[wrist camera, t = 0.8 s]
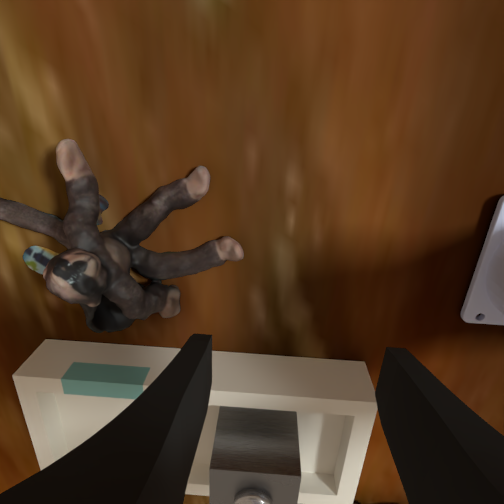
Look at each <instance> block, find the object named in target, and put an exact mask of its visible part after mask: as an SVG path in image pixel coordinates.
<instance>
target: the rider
mask: <svg viewBox="0 0 504 504" xmlns="http://www.w3.org/2000/svg"><path fill="white" fill-rule="evenodd" d="M300 483H301V463H300V450H299V437H298V423H297V412H295V411H282V410H269V409H256V408H242V407H229V406H220V408H219V414H218V420H217V426H216V432H215V438H214V444H213V450H212V456H211V462H210V468H209V499H210V504H297V502H298V496H299V489H300Z"/></svg>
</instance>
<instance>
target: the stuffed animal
mask: <svg viewBox="0 0 504 504" xmlns="http://www.w3.org/2000/svg"><path fill="white" fill-rule="evenodd" d="M56 162H57V166H58V168H59V170H60V172H61V173H62V175H63V177H64V179H65V182H66V191H67V196H68V200H69V209H68V212H67V214H66V216H65V218H64V220H61V219H59V218H58V217H56V216H54V215H52V214H47V213H44V212H41V211H39V210H36V209H34V208H31V207H29V206H27V205H24V204H22V203H19V202H15V201H11V200H6V199H3V198H0V220H4V221H7V222H9V223H11V224H14V225H17V226H20V227H23V228H26V229H30V230H33V231H36V232H40V233H44V234H46V235H49V236H52V237H53V238H55V239H56V240H57V241H58V242H59V243H61V244H63V245H64V246H66V247H67V249H68V250H66V251H64V252H62V253H60V254H58V253H56V252H54V251H51V250H49V249H47V248H44V247H40V246H31V247H29V248H28V249H27V250H25V252H24V254H23V259H24V261H25V263H26V264H27V266H28V267H29V268H30V269H32V270H34V271H36V272H38V273H40V274H43V278H44V279H45V280H46V287H47V289H48V290H49V291H50V292H51V293H52V294H54V295H56V296H58V297H59V298H61V299H63V300H64V301H67V302H68V303H70V304H73V303H79V304H80V305H81V307H82V308H83V310H84V313H85V316H86V324H87V326H88V327H89V328H90V329H91V330H92V331H94V332H97V333H101V332H103V331H107V332H114V331H121V330H123V329H125V328H128V327H130V326H131V325H132V323H133V322H134V321H135V319H141V320H145V319H147V318H148V316H150V315H151V314H153V313H157V312H159V314H160V315H161V316H162V317H163V318H170V317H173V316H175V315H177V314H178V313H179V312H180V300H179V299H180V290H179V289H178V287H177V286H176V285H170V286H167V285H162V284H161V283H162V282H161V280H165V279H172V278H177V277H182V276H185V275H192V274H197V273H198V272H201V271H205V270H208V269H210V268H212V267H216V266H220V265H223V264H224V263H225V262H226V260H230V261H239V260H242V259H243V257H244V252H243V250H242V247H241V245H240V244H239V243H238V242H237V241H235V240H234V239H232V238H231V237H228V236H225V237H223V238H221V239H219V240H211V241H208V242H206V243H205V244H203V245H201V246H199V247H197V248H195V249H192V250H188V251H182V252H164V253H156V252H153V251H150V250H147V249H145V248H143V247H141V246H139V243H140V242H141V241H143V240H145V239H147V238H148V237H149V236H150V235H151V233H152V232H153V231H154V230H155V229H156V228H157V227H158V225H159V224H160V223H161V222H162V221H163V220H164V219H165V218H166V217H167V216H168V215H169V213H171V212H172V211H173V210H176V209H184V208H187V207H189V206H191V205H193V204H194V203H196V202H197V201H199V200H200V199H201V198H202V197H203V196H204V195H205V194H206V193H207V191H208V189H209V183H210V174H209V172H208V170H207V168H205V167H204V166H199V167H197V168H196V169H195V170H194V171H193V172H192V173H191V174H190V175H189V177H187V178H183V179H179V180H176V181H174V182H172V183H171V184H169V185H166V186H162V187H160V188H158V189H157V190H156V192H155V193H154V194H153V195H152V196H151V197H150V198H149V199H148V200H147V201H146V202H144V203H142V204H141V205H139V206H138V207H137V208H136V209H134V210H133V211H132V212H131V213H130V214H129V215H128V216H126V217H125V218H124V219H123V220H122V221H120V222H119V223H118V224H117V225H116V226H115V227H114V228H113V229H112V230H105V231H102V232H101V233H99V230H98V228H97V225H99V224H102V222H103V221H102V218H101V214H102V212H103V211H104V210H106V209H107V208H108V206H109V204H108V201H107V200H106V199H105V198H104V197H103V196H101V195H99V190H98V183H97V180H96V178H95V176H94V175H93V173H92V171H91V169H90V167H89V165H88V163H87V161H86V160H85V158H84V155H83V153H82V152H81V150H80V148H79V147H78V145H77V143H76V142H75V141H74V140H71V139H64V140H62V141H60V142H59V143H58V145H57V147H56ZM131 267H133V268H134V269H136V270H137V271H138V272H139V273H140V274H141V275H142V276H144V277H146V278H149V279H152V282H151V283H150V284H149V285H147V286H146V287H145V286H143V285H141V284H139V283H137V282H136V281H135V280H134V279H133V278H132V277H131V276H130V268H131Z"/></svg>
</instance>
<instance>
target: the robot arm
mask: <svg viewBox="0 0 504 504" xmlns="http://www.w3.org/2000/svg"><path fill="white" fill-rule="evenodd" d="M480 313H481V315H480V316H478V317H476V316H477V315H478V314H480ZM460 316H461V318H462V319H463V320H464V321H465V322H467V323H478V324H493V325H504V196H502V197H501V198H500V200H499V201H498V204H497V207H496V210H495V213H494V216H493V219H492V222H491V225H490V228H489V230H488V233H487V236H486V239H485V242H484V245H483V248H482V251H481V254H480V257H479V260H478V263H477V266H476V269H475V272H474V275H473V278H472V281H471V284H470V287H469V290H468V292H467V295H466V298H465V301H464V304H463V307H462V310H461V314H460ZM211 386H212V335H205V334H193V335H192V336H191V337H190V338H189V339H188V341H187V342H186V343H185V345H184V346H183V347H182V349H181V350H180V351H179V352H178V354H177V355H176V356H175V357H174V359H173V360H172V361H171V362H170V363H169V364H168V366H167V367H166V368H165V369H164V370H163V371H162V372H161V374H160V375H159V376H158V377H157V378H156V379H155V380H154V381H153V382H152V383H151V384H150V385H149V386H148V387H147V388H146V389H145V390H144V391H143V392H142V393H141V394H140V395H139V396H138V397H137V398H136V399H135V400H134V401H133V402H132V403H131V404H130V405H129V406H128V407H127V408H125V409H124V410H123V411H122V412H121V413H120V414H119V415H117V416H116V417H115V418H114V419H113V420H112V421H110V422H109V423H108V424H106V425H105V426H104V427H103V428H101V429H100V430H99V431H98V432H96V433H95V434H94V435H93V436H91V437H90V438H89V439H87V440H86V441H84V442H83V443H82V444H80V445H79V446H77V447H76V448H74V449H73V450H72V451H70V452H69V453H67V454H66V455H64V456H63V457H61V458H60V459H58V460H57V461H55V462H54V463H52V464H51V465H49V466H48V467H46V468H44V469H43V470H41V471H39V472H38V473H36V474H34V475H33V476H31V477H29V478H27V479H26V480H24V481H22V482H20V483H19V484H17V485H15V486H13V487H12V488H10V489H8V490H6V491H5V492H3V493H1V494H0V504H183V501H184V496H185V491H186V487H187V483H188V479H189V475H190V472H191V468H192V464H193V461H194V457H195V454H196V450H197V447H198V443H199V439H200V436H201V432H202V429H203V425H204V421H205V418H206V414H207V410H208V404H209V398H210V392H211ZM375 397H376V402H377V407H378V412H379V416H380V420H381V425H382V428H383V431H384V434H385V436H386V439H387V442H388V445H389V448H390V451H391V454H392V456H393V459H394V462H395V465H396V468H397V470H398V473H399V476H400V479H401V482H402V485H403V487H404V490H405V493H406V496H407V499H408V502H409V504H504V436H503V435H502V434H500V433H499V432H498V431H497V430H495V429H494V428H493V427H492V426H490V425H489V424H488V423H487V422H485V421H484V420H483V419H482V418H481V417H479V416H478V415H477V414H476V413H475V412H474V411H472V410H471V409H470V408H469V407H468V406H467V405H465V404H464V403H463V402H462V401H461V400H460V399H459V398H458V397H456V396H455V395H454V394H453V393H452V392H451V391H450V390H449V389H448V388H447V387H446V386H444V385H443V384H442V383H441V382H440V381H439V380H438V379H437V378H436V377H435V376H434V375H433V374H432V373H431V372H430V371H429V370H428V369H427V368H426V367H425V366H423V365H422V364H421V363H420V362H419V361H418V360H417V359H416V358H415V357H414V356H413V355H412V354H411V353H410V352H409V351H408V350H406V349H405V348H392V347H386V351H385V355H384V359H383V363H382V367H381V371H380V375H379V379H378V383H377V387H376V391H375Z"/></svg>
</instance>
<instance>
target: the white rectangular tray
mask: <svg viewBox="0 0 504 504" xmlns="http://www.w3.org/2000/svg"><path fill="white" fill-rule="evenodd" d="M180 350H181V349H180V348H166V347H152V346H138V345H124V344H110V343H96V342H81V341H67V340H53V339H45V340H44V341H43V343H42V344H41V345H40V346H39V347H38V348H37V349H36V350H35V351H34V352H33V353H32V354H31V355H30V357H29V358H28V359H27V360H26V361H25V362H24V363H23V364H22V365H21V366H20V367H19V368H18V370H17V371H16V372H15V373H14V374H13V375H12V377H13V380H14V384H15V387H16V390H17V394H18V397H19V400H20V403H21V407H22V410H23V413H24V417H25V420H26V423H27V427H28V430H29V433H30V436H31V440H32V443H33V446H34V450H35V453H36V456H37V460H38V463H39V466H40V469H41V470H43V469H44V468H46V467H48V466H49V465H51V464H52V463H54V462H55V461H57V460H58V459H60V458H61V457H63V456H64V455H66V454H67V453H69V452H70V451H72V450H73V449H74V448H76V447H77V446H79V445H80V444H82V443H83V442H84V441H86V440H87V439H89V438H90V437H91V436H93V435H94V434H95V433H96V432H98V431H99V430H100V429H101V428H103V427H104V426H105V425H106V424H108V423H109V422H110V421H112V420H113V419H114V418H115V417H116V416H117V415H119V414H120V413H121V412H122V411H123V410H124V409H125V408H127V407H128V406H129V405H130V404H131V403H132V402H133V401H134V400H135V399H136V398H137V397H138V396H139V395H140V394H141V393H142V392H143V391H144V390H145V389H146V388H147V387H148V386H149V385H150V384H151V383H152V382H153V381H154V380H155V379H156V378H157V377H158V376H159V375H160V374H161V372H162V371H163V370H164V369H165V368H166V367H167V366H168V364H169V363H170V362H171V361H172V360H173V359H174V357H175V356H176V355H177V354H178V352H179V351H180ZM220 406H229V407H242V408H256V409H269V410H282V411H295V412H297V423H298V437H299V450H300V463H301V483H300V489H299V496H298V502H297V503H298V504H353V501H354V497H355V493H356V489H357V486H358V482H359V478H360V474H361V470H362V466H363V462H364V458H365V455H366V451H367V447H368V443H369V439H370V435H371V431H372V427H373V424H374V420H375V416H376V412H377V408H378V407H377V402H376V397H375V390H374V387H373V384H372V381H371V378H370V375H369V373H368V370H367V367H366V364H365V362H363V361H349V360H335V359H320V358H306V357H292V356H278V355H264V354H250V353H236V352H222V351H212V386H211V392H210V398H209V404H208V410H207V414H206V418H205V421H204V425H203V429H202V432H201V436H200V439H199V443H198V447H197V450H196V454H195V457H194V461H193V464H192V468H191V472H190V475H189V479H188V483H187V487H186V491H185V494H191V495H203V496H209V468H210V462H211V456H212V450H213V444H214V438H215V432H216V426H217V420H218V414H219V408H220Z"/></svg>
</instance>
